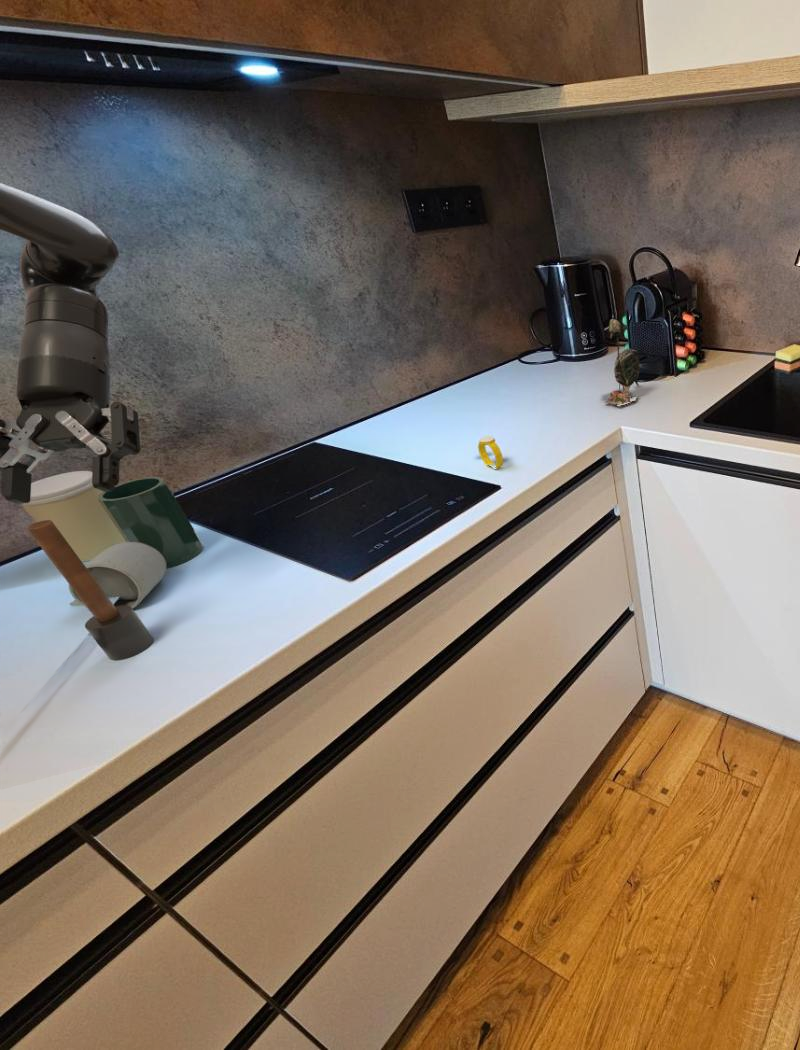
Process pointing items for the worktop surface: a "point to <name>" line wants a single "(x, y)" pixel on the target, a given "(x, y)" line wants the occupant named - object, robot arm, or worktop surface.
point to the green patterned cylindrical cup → (152, 518)
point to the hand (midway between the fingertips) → (61, 495)
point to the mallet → (94, 598)
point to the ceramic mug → (125, 572)
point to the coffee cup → (74, 512)
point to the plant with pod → (623, 368)
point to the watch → (491, 443)
